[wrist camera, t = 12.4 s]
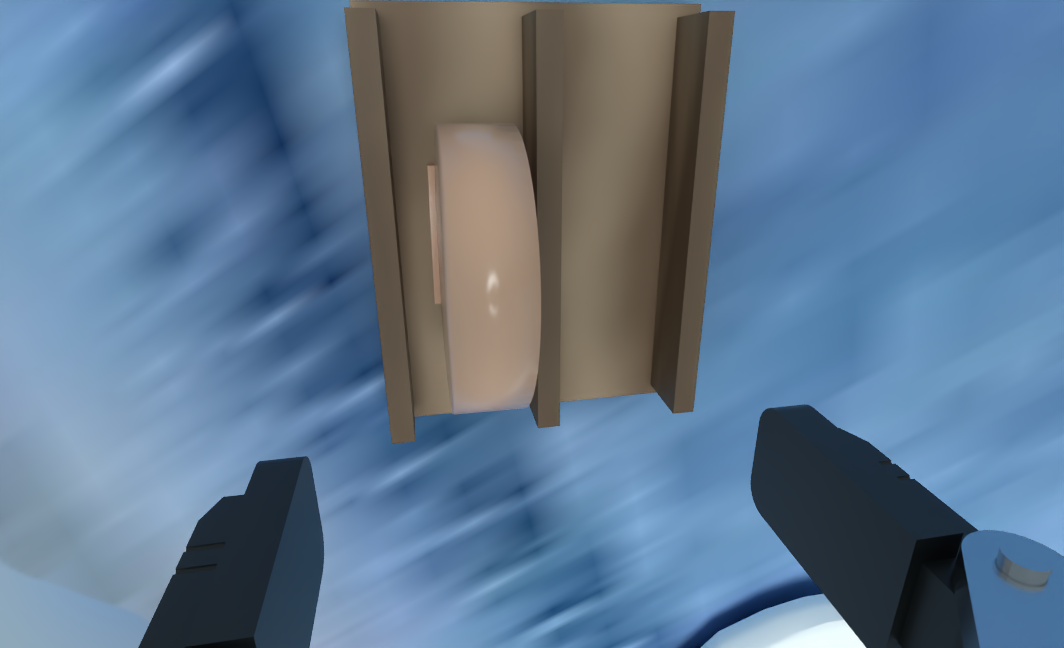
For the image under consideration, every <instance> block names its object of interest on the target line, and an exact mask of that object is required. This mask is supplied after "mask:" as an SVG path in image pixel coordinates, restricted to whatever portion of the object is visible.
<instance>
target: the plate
mask: <svg viewBox="0 0 1064 648" xmlns="http://www.w3.org/2000/svg"><path fill="white" fill-rule="evenodd" d="M701 648H866V647H865V646H864V644H863V643H862V642H861V641H860V639H859V638H858V637H857V636H856V634H855V633H854V632H853V630H852V629H851V628H850V627H849V625H848V624H847V623H846V622H845V620H844V619H843V618H842V617H841V615H840V614H839V613H838V612H837V610H836V609H835V608H834V607H833V605H832V604H831V603H830V601H829V600H828V599H827V598H826V596H825V595H824V594H818V595H812V596H805V597H801V598H798V599H795V600H792V601H789V602H786V603H783V604H779V605H776V606H773V607H770V608H767V609H764V610H762V611H760V612H758V613H756V614H754V615H751V616H749V617H747V618H745V619H743V620H741V621H739V622H737V623H735V624H733V625H731V626H729V627H727V628H724V629H722V630H720V631H718V632H717V633H716V634H715V635H714V636H713V637H712V638H711V639H709V640H708V641H707V642H706V643H705V644H704V645H703V646H702V647H701Z"/></svg>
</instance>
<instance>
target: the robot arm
mask: <svg viewBox="0 0 1064 648" xmlns="http://www.w3.org/2000/svg"><path fill="white" fill-rule="evenodd" d="M751 491H752V496H753V500H754V503H755V505H756V508H757V510H758V511H759V513H760V514H761V516H762V517H763V518H764V520H765V521H766V522H767V523H768V525H769V526H770V527H771V528H772V530H773V531H774V532H775V533H776V535H777V536H778V537H779V538H780V540H781V541H782V542H783V543H784V545H785V546H786V547H787V549H788V550H789V551H790V552H791V554H792V555H793V556H794V557H795V559H796V560H797V561H798V562H799V564H800V565H801V566H802V567H803V569H804V570H805V571H806V572H807V574H808V575H809V576H810V578H811V579H812V580H813V581H814V583H815V584H816V585H817V586H818V588H819V589H820V590H821V591H822V593H823V594H824V595H825V596H826V598H827V599H828V600H829V601H830V603H831V604H832V605H833V607H834V608H835V609H836V610H837V612H838V613H839V614H840V615H841V617H842V618H843V619H844V620H845V622H846V623H847V624H848V625H849V627H850V628H851V629H852V630H853V632H854V633H855V634H856V636H857V637H858V638H859V639H860V641H861V642H862V643H863V644H864V646H865V647H866V648H1064V556H1062V555H1060V554H1059V553H1057V552H1056V551H1054V550H1052V549H1050V548H1049V547H1047V546H1045V545H1043V544H1041V543H1038V542H1036V541H1034V540H1031V539H1028V538H1026V537H1023V536H1020V535H1016V534H1013V533H1008V532H1003V531H995V530H983V531H978V530H977V529H976V528H974V527H973V526H972V525H971V524H970V523H968V522H967V521H966V520H965V519H963V518H962V517H961V516H960V515H958V514H957V513H956V512H955V511H953V510H952V509H951V508H950V507H948V506H947V505H946V504H945V503H943V502H942V501H941V500H940V499H938V498H937V497H936V496H935V495H934V494H932V493H931V492H930V491H929V490H927V489H926V488H925V487H924V486H922V485H921V484H920V483H919V482H917V481H916V480H915V479H910V477H909V474H907V473H906V472H905V471H904V470H902V469H901V468H900V467H899V466H898V465H896V464H892V463H891V460H890V459H889V458H888V457H886V456H885V455H884V454H883V453H881V452H880V451H879V450H878V449H876V448H875V447H874V446H873V445H871V444H870V443H869V442H867V441H865V440H863V439H861V438H859V437H857V436H855V435H853V434H851V433H849V432H846V431H844V430H842V429H840V428H837V427H836V426H835V425H834V424H832V423H831V422H830V421H829V420H827V419H826V418H825V417H824V416H823V415H821V414H820V413H819V412H818V411H817V410H815V409H814V408H813V407H811V406H809V405H796V406H787V407H777V408H769V409H766V410H765V411H764V412H763V413H762V415H761V417H760V421H759V427H758V434H757V441H756V447H755V454H754V461H753V468H752V474H751ZM323 564H324V542H323V532H322V526H321V520H320V514H319V508H318V502H317V496H316V491H315V485H314V479H313V473H312V468H311V464H310V461H309V458H308V457H306V456H305V457H296V458H286V459H277V460H267V461H259V462H258V463H257V465H256V467H255V469H254V472H253V474H252V477H251V479H250V482H249V484H248V487H247V489H246V492H245V494H244V495H237V496H228V497H223V498H222V499H221V500H220V501H219V502H218V503H217V504H216V505H215V506H213V507H212V508H211V509H210V510H209V511H208V512H207V513H206V514H205V515H204V516H203V517H202V518H201V519H200V520H199V521H198V523H197V525H196V527H195V529H194V532H193V534H192V536H191V538H190V540H189V542H188V544H187V546H186V552H184V553H183V555H182V557H181V559H180V561H179V563H178V565H177V567H176V574H175V575H173V576H172V578H171V580H170V582H169V584H168V586H167V588H166V591H165V593H164V595H163V597H162V599H161V601H160V603H159V605H158V607H157V609H156V612H155V614H154V616H153V618H152V620H151V622H150V624H149V626H148V628H147V631H146V633H145V635H144V637H143V639H142V641H141V644H140V646H139V648H309V646H310V641H311V635H312V630H313V624H314V618H315V613H316V607H317V601H318V596H319V590H320V584H321V579H322V573H323Z"/></svg>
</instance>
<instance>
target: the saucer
mask: <svg viewBox="0 0 1064 648" xmlns="http://www.w3.org/2000/svg"><path fill="white" fill-rule="evenodd" d="M434 160H435V164H427V174H428V193H429V211H430V230H431V249H432V268H433V287H434V302H435V304H441V310H442V324H443V337H444V349H445V360H446V371H447V381H448V390H449V398H450V404H451V410H452V413H453V414H465V413H476V412H488V411H499V410H511V409H522V408H527V407H528V406H529V404H530V403H531V400H532V398H533V395H534V391H535V386H536V380H537V374H538V365H539V354H540V338H541V273H540V253H539V239H538V226H537V217H536V207H535V199H534V192H533V184H532V179H531V173H530V167H529V162H528V158H527V153H526V150H525V146H524V142H523V139H522V137H521V134H520V132H519V130H518V128H517V126H516V125H515V124H513V123H437V124H436V125H435V141H434Z"/></svg>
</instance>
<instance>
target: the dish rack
mask: <svg viewBox="0 0 1064 648" xmlns="http://www.w3.org/2000/svg"><path fill="white" fill-rule="evenodd" d="M350 6H351V8H344V11H345V20H346V29H347V38H348V47H349V56H350V65H351V75H352V84H353V93H354V102H355V111H356V120H357V129H358V138H359V148H360V157H361V166H362V175H363V184H364V193H365V202H366V212H367V221H368V230H369V239H370V248H371V257H372V266H373V276H374V285H375V294H376V303H377V312H378V321H379V330H380V339H381V349H382V358H383V367H384V376H385V385H386V394H387V403H388V413H389V422H390V431H391V440H392V444H395V443H404V442H413V441H415V417H416V416H426V415H436V414H446V413H452V410H451V404H450V398H449V390H448V381H447V371H446V360H445V349H444V337H443V324H442V310H441V304H435V302H434V287H433V268H432V249H431V230H430V211H429V193H428V174H427V164H435V160H434V141H435V125H436V124H437V123H513V124H515V125H516V126H517V128H518V130H519V132H520V134H521V137H522V139H523V142H524V146H525V150H526V153H527V158H528V162H529V167H530V173H531V179H532V184H533V192H534V199H535V207H536V217H537V226H538V239H539V253H540V273H541V338H540V354H539V365H538V374H537V380H536V386H535V391H534V395H533V398H532V400H531V403H530V404H529V405H530V408H531V410H532V413H533V416H534V418H535V421H536V424H537V426H538V428H544V427H553V426H560V402H565V401H575V400H584V399H594V398H604V397H614V396H624V395H634V394H644V393H654V392H657V393H658V395H659V396H660V397H661V399H662V400H663V401H664V402H665V404H666V405H667V406H668V407H669V409H670V410H671V411H672V413H673V414H674V413H683V412H692V411H693V408H694V399H695V389H696V379H697V370H698V360H699V351H700V341H701V332H702V322H703V312H704V303H705V293H706V284H707V274H708V264H709V255H710V245H711V236H712V226H713V217H714V207H715V197H716V188H717V178H718V169H719V159H720V149H721V140H722V130H723V121H724V111H725V102H726V92H727V82H728V73H729V63H730V54H731V44H732V34H733V25H734V15H735V11H707V12H702V13H700V11H701V4H642V3H551V2H460V1H369V0H350Z"/></svg>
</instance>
